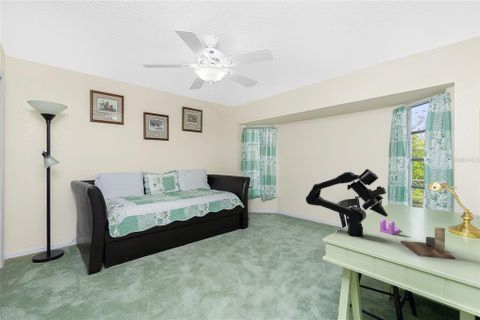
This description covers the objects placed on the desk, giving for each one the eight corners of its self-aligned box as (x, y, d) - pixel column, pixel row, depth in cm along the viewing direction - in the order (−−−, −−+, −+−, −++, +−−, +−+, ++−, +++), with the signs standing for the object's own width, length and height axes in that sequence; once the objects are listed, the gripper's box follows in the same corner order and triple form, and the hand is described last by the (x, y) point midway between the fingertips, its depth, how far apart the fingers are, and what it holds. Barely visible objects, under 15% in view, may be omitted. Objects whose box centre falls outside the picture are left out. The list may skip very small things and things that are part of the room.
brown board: (418, 255, 91) (418, 253, 91) (400, 242, 105) (400, 240, 105) (455, 259, 88) (455, 256, 88) (432, 245, 102) (432, 243, 102)
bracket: (391, 235, 116) (391, 222, 116) (380, 232, 121) (380, 219, 121) (401, 230, 123) (401, 218, 123) (390, 228, 128) (390, 216, 128)
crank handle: (424, 243, 101) (424, 222, 101) (433, 244, 100) (434, 222, 100) (436, 252, 91) (436, 228, 91) (446, 253, 90) (447, 229, 90)
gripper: (370, 182, 103) (398, 209, 95) (379, 180, 116) (404, 203, 108) (352, 196, 108) (377, 223, 100) (362, 193, 122) (385, 216, 114)
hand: (387, 216), depth 106 cm, fingers closed
